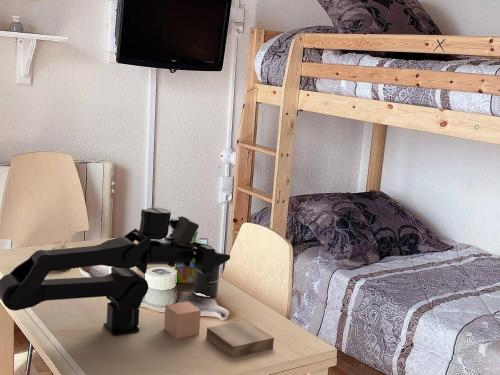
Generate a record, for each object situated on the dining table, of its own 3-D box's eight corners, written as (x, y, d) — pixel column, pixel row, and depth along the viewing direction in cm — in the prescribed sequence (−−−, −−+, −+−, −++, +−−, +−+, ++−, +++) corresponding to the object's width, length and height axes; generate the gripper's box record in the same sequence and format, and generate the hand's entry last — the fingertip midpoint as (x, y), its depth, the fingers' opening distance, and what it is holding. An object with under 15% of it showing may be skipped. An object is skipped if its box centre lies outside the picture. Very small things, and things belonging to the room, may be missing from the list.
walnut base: (232, 357, 139) (233, 346, 139) (206, 337, 148) (207, 327, 147) (272, 347, 145) (273, 337, 145) (245, 329, 154) (246, 319, 154)
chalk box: (174, 273, 190) (177, 225, 188) (205, 274, 191) (208, 226, 189) (173, 283, 181) (176, 233, 179) (205, 285, 182) (209, 235, 180)
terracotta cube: (176, 339, 146) (177, 314, 145) (164, 329, 151) (165, 305, 150) (199, 334, 150) (200, 310, 148) (186, 325, 154) (187, 301, 153)
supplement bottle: (214, 299, 172) (217, 257, 169) (189, 296, 173) (192, 253, 171) (220, 291, 178) (223, 250, 176) (196, 287, 180) (199, 246, 177)
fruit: (81, 268, 188) (82, 242, 186) (61, 274, 182) (62, 247, 180) (63, 262, 192) (64, 236, 190) (43, 268, 185) (44, 241, 184)
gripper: (186, 227, 142) (245, 229, 151) (151, 211, 158) (205, 213, 167) (180, 276, 144) (238, 274, 152) (145, 255, 159) (200, 255, 168)
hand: (220, 252), depth 160 cm, fingers open, 9 cm apart
